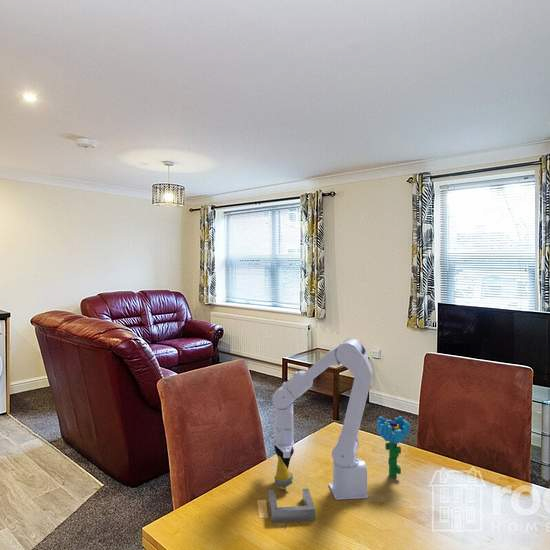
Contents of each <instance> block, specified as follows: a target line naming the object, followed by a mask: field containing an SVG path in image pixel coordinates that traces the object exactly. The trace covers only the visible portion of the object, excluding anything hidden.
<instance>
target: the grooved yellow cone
mask: <svg viewBox="0 0 550 550" xmlns="http://www.w3.org/2000/svg"><path fill="white" fill-rule="evenodd" d="M293 479H294V477H293V473H292V472H290V470H289V468H288V469H287V467H286V465H285V464H284V462H283V461H282V459H281V457H280V456H279V458H278V457H277V466H276V473H275V476H274V483H275V484H276V485H277V486H278V487H280V488H282V489H285V490H286V489H287V487H289V486H290V485H292V484H293Z"/></svg>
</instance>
